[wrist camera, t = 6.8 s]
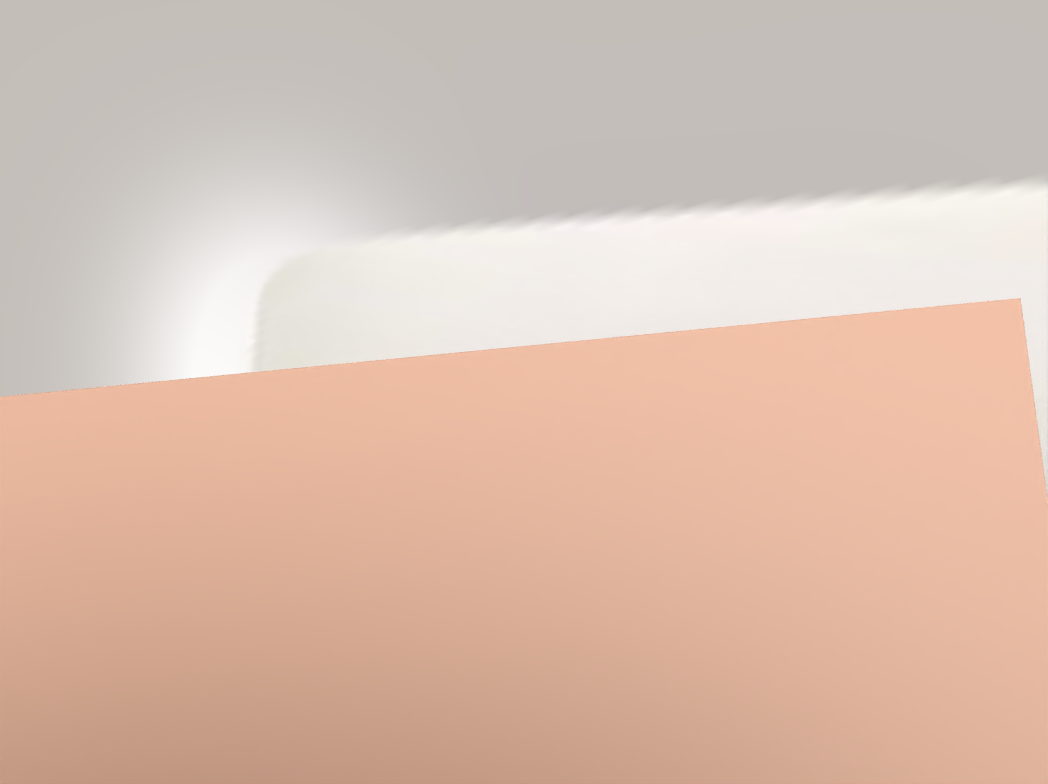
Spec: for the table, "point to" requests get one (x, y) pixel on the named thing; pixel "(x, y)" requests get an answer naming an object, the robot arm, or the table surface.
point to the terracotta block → (541, 565)
